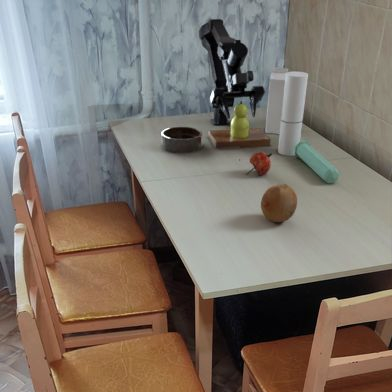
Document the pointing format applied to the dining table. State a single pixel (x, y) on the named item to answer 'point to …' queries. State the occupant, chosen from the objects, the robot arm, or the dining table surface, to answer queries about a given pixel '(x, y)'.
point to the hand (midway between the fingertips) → (241, 117)
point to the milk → (275, 100)
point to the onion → (279, 203)
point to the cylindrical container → (292, 111)
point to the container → (316, 162)
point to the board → (239, 139)
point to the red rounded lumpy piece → (260, 162)
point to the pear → (240, 122)
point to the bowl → (181, 139)
